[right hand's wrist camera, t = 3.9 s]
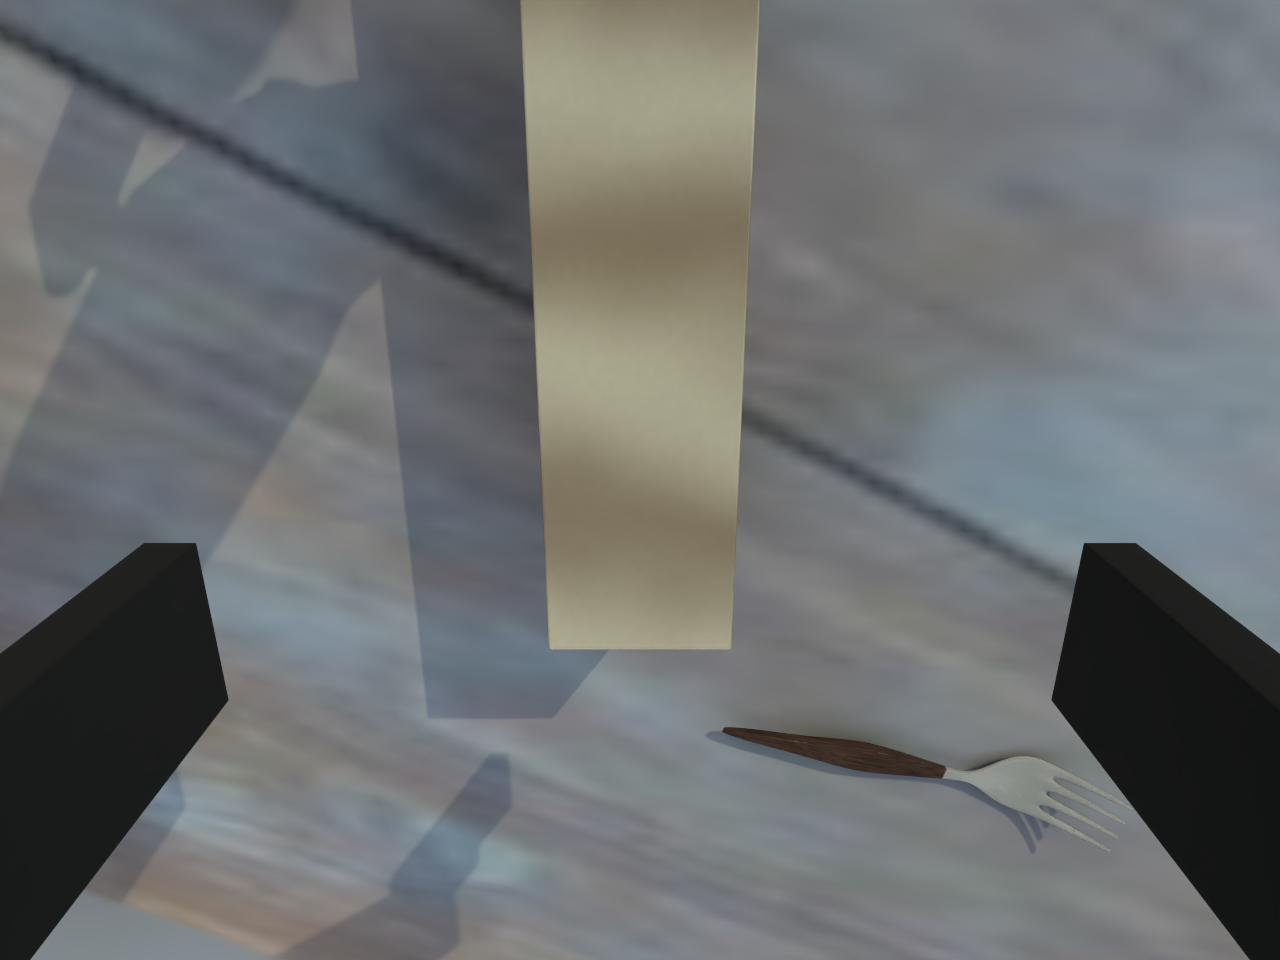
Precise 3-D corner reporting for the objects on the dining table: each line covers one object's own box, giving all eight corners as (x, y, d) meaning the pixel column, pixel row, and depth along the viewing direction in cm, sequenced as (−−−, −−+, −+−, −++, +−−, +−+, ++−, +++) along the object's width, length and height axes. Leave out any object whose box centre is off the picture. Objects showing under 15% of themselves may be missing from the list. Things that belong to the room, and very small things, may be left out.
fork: (730, 694, 33) (736, 726, 31) (1109, 770, 34) (1137, 805, 32) (713, 747, 34) (717, 782, 32) (1083, 819, 35) (1108, 857, 33)
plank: (708, 530, 30) (731, 650, 23) (571, 530, 30) (548, 650, 23) (746, -633, 20) (810, -1117, 12) (533, -633, 20) (469, -1117, 12)
